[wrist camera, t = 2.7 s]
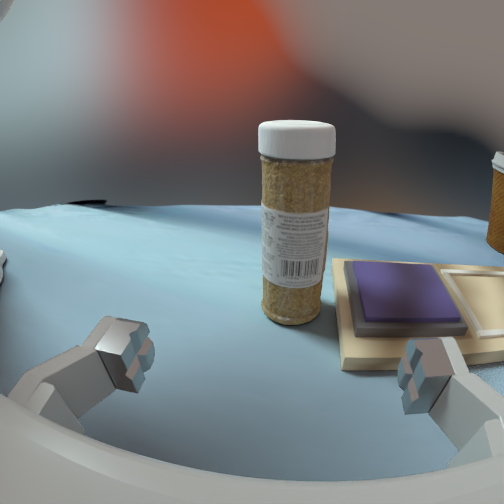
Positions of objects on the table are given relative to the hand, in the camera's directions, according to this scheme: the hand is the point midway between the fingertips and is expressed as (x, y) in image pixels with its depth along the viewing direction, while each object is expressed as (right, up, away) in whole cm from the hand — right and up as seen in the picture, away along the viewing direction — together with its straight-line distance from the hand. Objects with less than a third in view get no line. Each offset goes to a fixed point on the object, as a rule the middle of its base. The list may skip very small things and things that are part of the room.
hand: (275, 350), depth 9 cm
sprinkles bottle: (+2, -2, +15) cm, 15 cm away
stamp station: (+16, -2, +13) cm, 20 cm away
